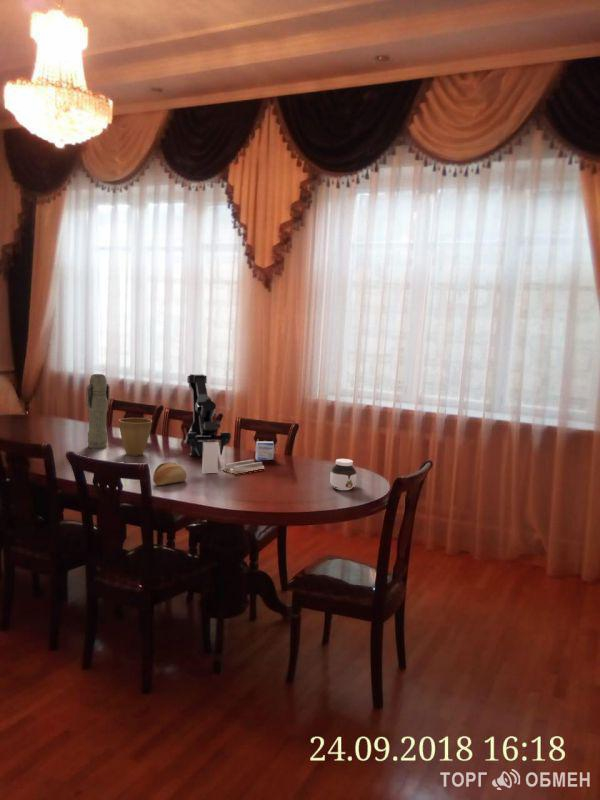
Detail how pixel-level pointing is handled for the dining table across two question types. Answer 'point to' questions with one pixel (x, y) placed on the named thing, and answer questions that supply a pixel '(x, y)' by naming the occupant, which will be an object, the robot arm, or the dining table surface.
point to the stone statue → (97, 410)
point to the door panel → (210, 457)
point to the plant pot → (135, 434)
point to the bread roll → (169, 474)
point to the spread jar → (343, 474)
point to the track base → (243, 466)
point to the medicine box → (264, 450)
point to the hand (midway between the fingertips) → (210, 455)
